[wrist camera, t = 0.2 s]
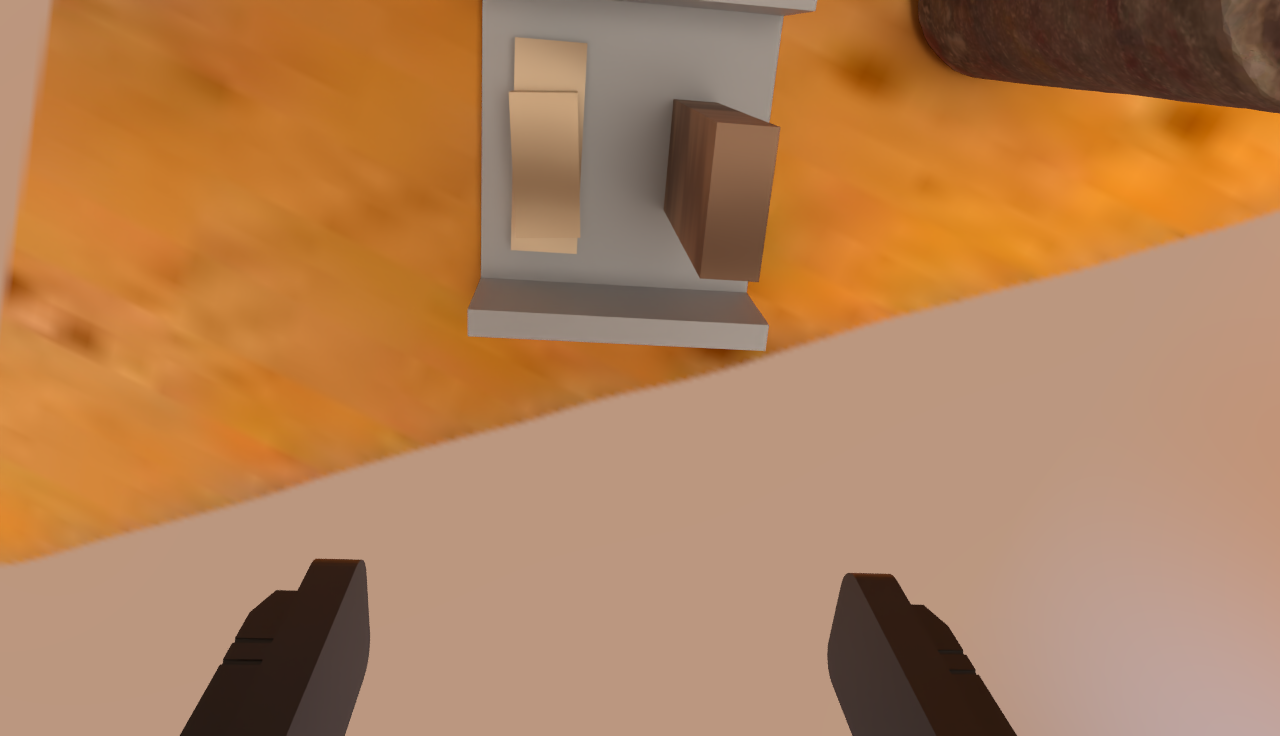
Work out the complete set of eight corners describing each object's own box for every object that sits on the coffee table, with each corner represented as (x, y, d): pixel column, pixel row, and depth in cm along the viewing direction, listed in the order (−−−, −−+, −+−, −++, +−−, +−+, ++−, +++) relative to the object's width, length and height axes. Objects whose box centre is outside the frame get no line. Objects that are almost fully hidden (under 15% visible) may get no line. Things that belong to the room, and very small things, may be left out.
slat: (673, 98, 36) (717, 122, 24) (717, 102, 36) (780, 127, 25) (663, 210, 37) (700, 278, 26) (705, 212, 38) (758, 282, 27)
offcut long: (517, 37, 34) (515, 36, 33) (586, 43, 34) (587, 43, 33) (513, 242, 37) (510, 250, 36) (576, 246, 38) (576, 254, 36)
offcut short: (511, 90, 34) (508, 92, 32) (577, 91, 34) (577, 92, 32) (518, 230, 36) (515, 238, 34) (580, 230, 36) (580, 237, 35)
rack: (485, -41, 34) (467, -59, 28) (780, -13, 35) (820, -24, 30) (483, 294, 40) (467, 335, 34) (738, 308, 41) (765, 350, 35)
